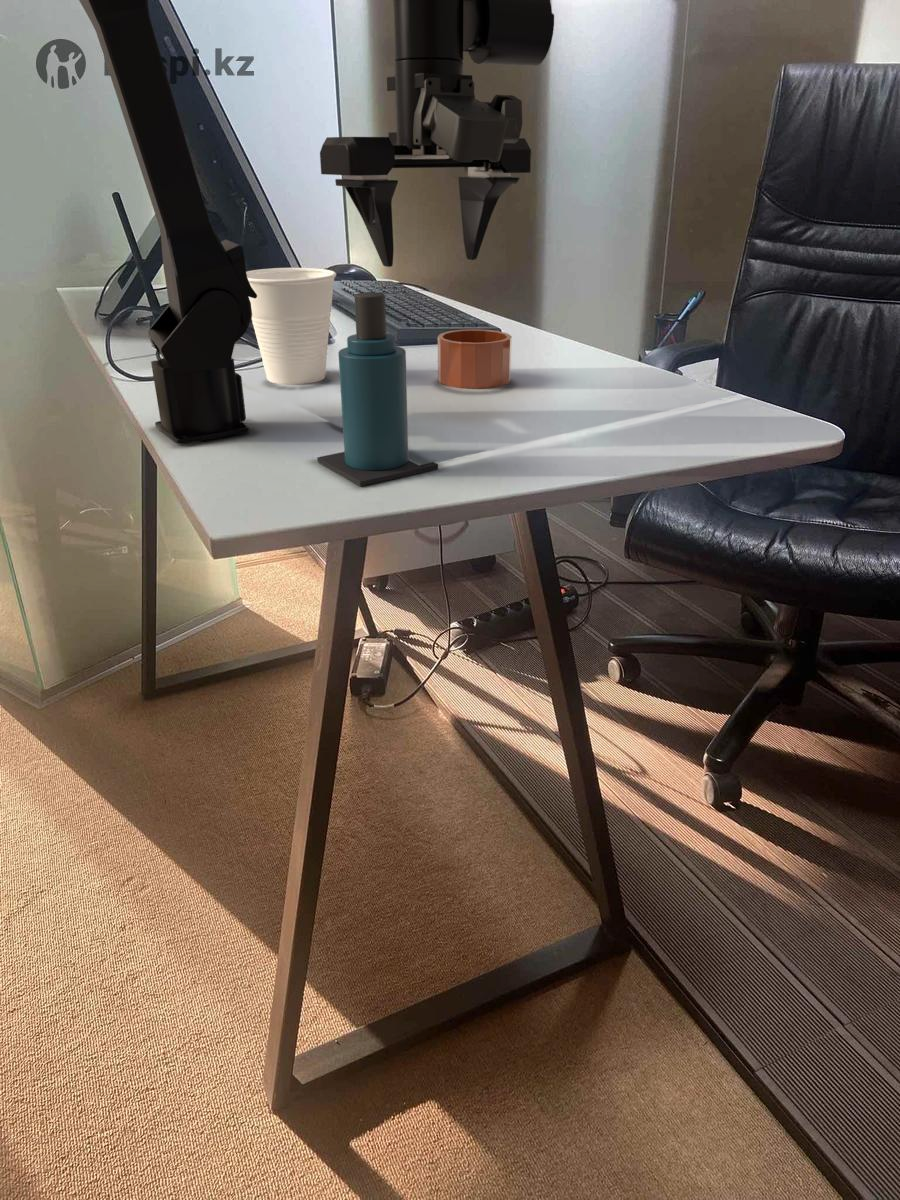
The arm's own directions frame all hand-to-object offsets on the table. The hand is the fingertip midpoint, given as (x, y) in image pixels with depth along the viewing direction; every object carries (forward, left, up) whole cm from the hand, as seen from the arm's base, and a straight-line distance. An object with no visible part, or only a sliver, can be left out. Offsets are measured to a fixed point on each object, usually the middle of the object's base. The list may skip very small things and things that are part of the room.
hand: (430, 262), depth 78 cm
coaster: (-14, -13, -13) cm, 23 cm away
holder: (+8, +4, -13) cm, 16 cm away
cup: (-7, +16, -13) cm, 22 cm away
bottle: (-14, -13, -13) cm, 23 cm away
